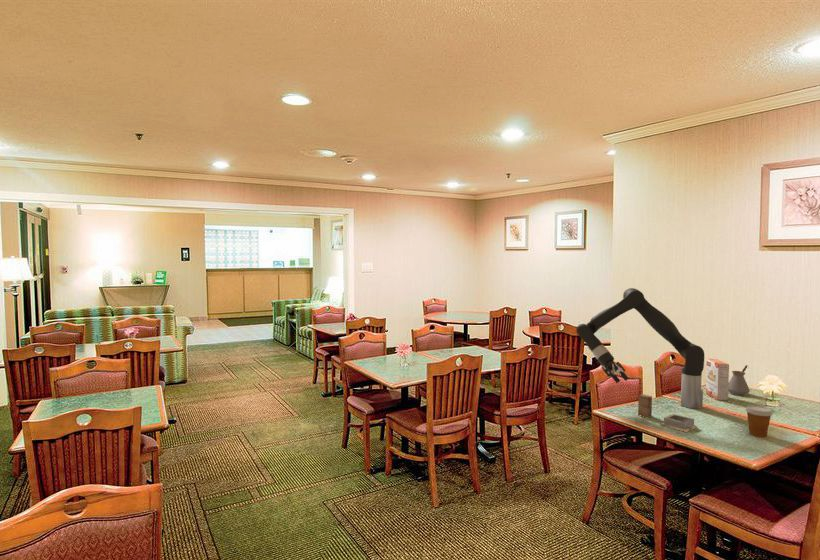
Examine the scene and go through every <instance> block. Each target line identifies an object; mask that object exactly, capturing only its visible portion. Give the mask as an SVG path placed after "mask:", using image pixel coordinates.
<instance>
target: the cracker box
mask: <svg viewBox="0 0 820 560" xmlns="http://www.w3.org/2000/svg"><path fill="white" fill-rule="evenodd" d="M705 371H706V372H705V375H706V377H705V378H706V379H705V394H706V395H708V396H709V397H711V398H713V399H714V400H716V401H725V402H727V401H729V391H728V385H729V381H730V378H729V377H730V374H729V373H730V364H729V363H727V362H724V361H722V360H721V359H720V360H719V359H718V358H706V369H705Z"/></svg>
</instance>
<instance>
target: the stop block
mask: <svg viewBox="0 0 820 560" xmlns="http://www.w3.org/2000/svg"><path fill="white" fill-rule="evenodd" d="M637 403H638V408H637V409H638V410H637V416H639V415H641V416H640V417H642V416H644V417H643V418H646V417H648V418H649V416H650V417H652V409H653V396H652V395H648V394H644V393H643V394H640V395H638V402H637Z"/></svg>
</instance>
